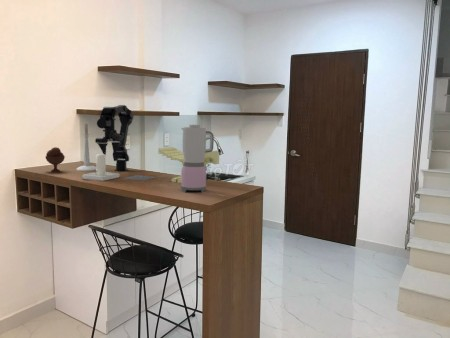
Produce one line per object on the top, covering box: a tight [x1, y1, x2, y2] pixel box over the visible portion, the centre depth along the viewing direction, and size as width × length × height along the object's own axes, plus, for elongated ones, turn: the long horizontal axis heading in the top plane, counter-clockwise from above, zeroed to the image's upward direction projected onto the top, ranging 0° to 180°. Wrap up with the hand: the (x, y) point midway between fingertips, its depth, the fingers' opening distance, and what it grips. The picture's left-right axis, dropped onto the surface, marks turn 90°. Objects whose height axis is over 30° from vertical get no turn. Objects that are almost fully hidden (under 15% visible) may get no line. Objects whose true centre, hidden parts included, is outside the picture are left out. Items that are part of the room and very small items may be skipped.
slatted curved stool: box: [157, 146, 220, 184], centre depth 206 cm, size 30×16×18 cm, turn 61°
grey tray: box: [81, 171, 120, 182], centre depth 206 cm, size 14×14×2 cm
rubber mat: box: [122, 174, 157, 181], centre depth 210 cm, size 14×14×1 cm
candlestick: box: [76, 123, 96, 172], centre depth 236 cm, size 13×13×30 cm
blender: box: [180, 124, 215, 193], centre depth 179 cm, size 16×12×32 cm
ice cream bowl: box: [45, 147, 66, 173], centre depth 226 cm, size 11×11×15 cm
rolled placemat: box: [95, 153, 107, 177], centre depth 205 cm, size 5×5×13 cm
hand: (109, 154), depth 221 cm, fingers open, 9 cm apart
